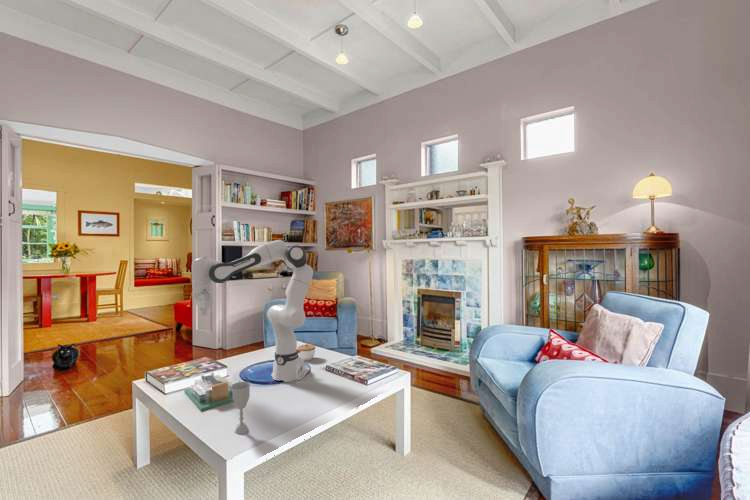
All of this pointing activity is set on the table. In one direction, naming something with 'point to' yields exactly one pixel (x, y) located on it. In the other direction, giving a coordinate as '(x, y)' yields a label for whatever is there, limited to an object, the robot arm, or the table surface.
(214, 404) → the circuit board
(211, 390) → the brown square block
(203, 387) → the heat sink
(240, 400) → the chalice
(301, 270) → the robot arm
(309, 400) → the table surface
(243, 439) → the table surface
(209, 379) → the dark grey bar
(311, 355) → the lidded jar
